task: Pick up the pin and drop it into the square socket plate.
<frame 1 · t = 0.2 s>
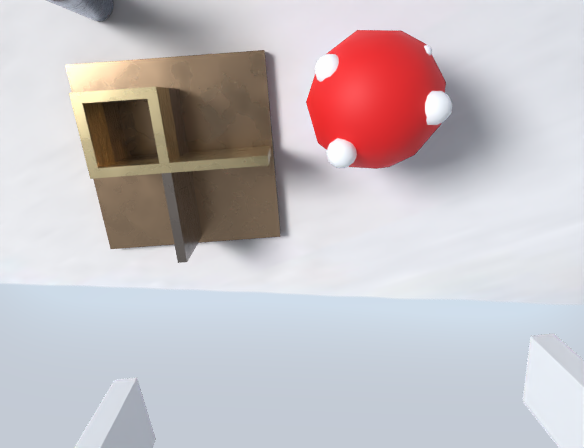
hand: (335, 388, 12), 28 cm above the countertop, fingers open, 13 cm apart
mushroom: (356, 101, 36), on the countertop
square socket plate: (153, 127, 36), on the countertop
pin: (95, 1, 33), on the countertop
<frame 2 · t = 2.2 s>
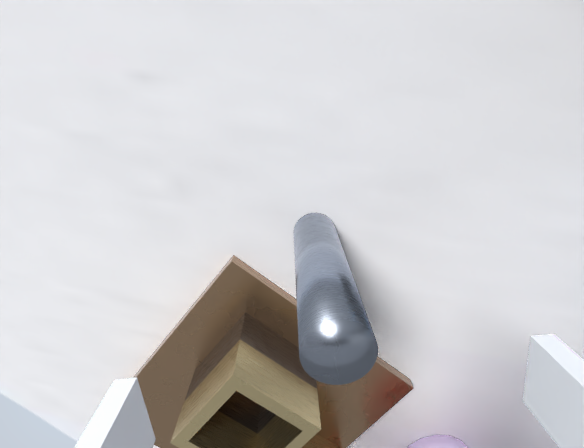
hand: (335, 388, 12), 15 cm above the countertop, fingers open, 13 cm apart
square socket plate: (255, 354, 30), on the countertop
pin: (314, 232, 26), on the countertop
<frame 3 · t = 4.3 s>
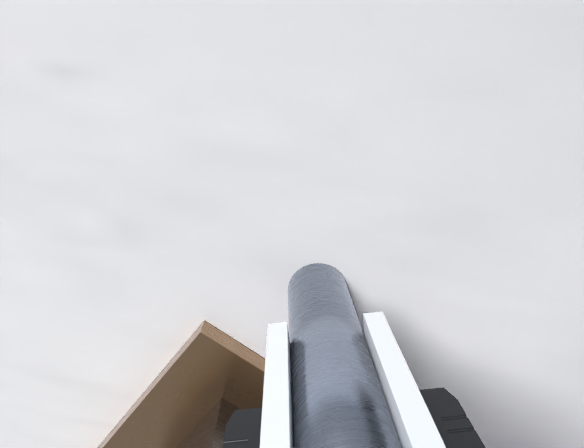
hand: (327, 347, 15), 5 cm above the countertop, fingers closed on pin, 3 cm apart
square socket plate: (237, 445, 22), on the countertop
pin: (317, 290, 19), on the countertop, touching gripper
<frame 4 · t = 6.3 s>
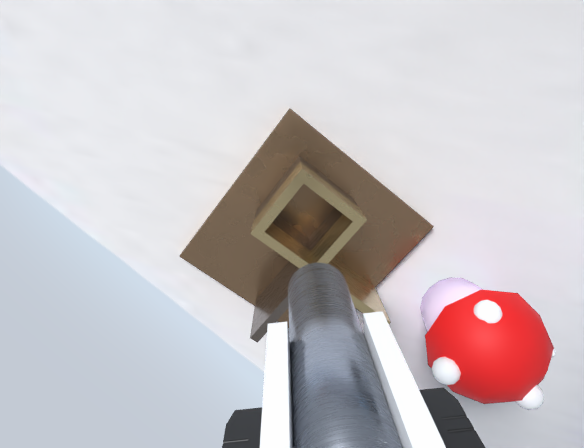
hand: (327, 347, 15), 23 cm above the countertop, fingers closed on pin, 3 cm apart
mushroom: (451, 301, 41), on the countertop
square socket plate: (304, 201, 36), on the countertop
pin: (317, 289, 19), point 18 cm above the countertop, touching gripper
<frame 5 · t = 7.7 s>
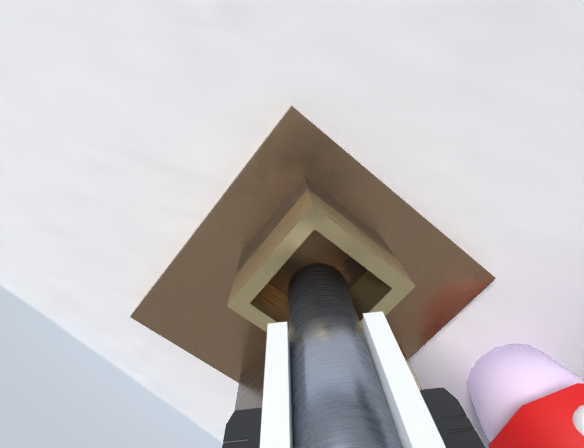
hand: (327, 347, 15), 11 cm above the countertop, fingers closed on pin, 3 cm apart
mushroom: (509, 373, 30), on the countertop
square socket plate: (310, 239, 25), on the countertop
pin: (317, 289, 19), point 7 cm above the countertop, touching gripper
when the fingers open (9 cm above the countertop, at t = 8.7 s): pin drops 3 cm, resting on square socket plate.
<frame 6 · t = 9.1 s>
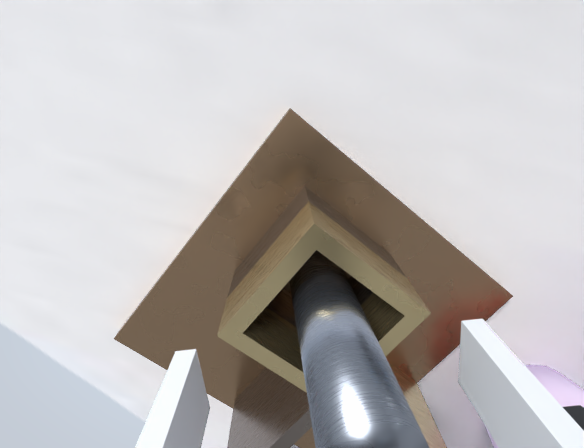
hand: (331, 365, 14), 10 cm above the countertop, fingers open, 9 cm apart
mushroom: (525, 396, 28), on the countertop
square socket plate: (310, 254, 23), on the countertop
pin: (311, 261, 22), point 1 cm above the countertop, touching square socket plate
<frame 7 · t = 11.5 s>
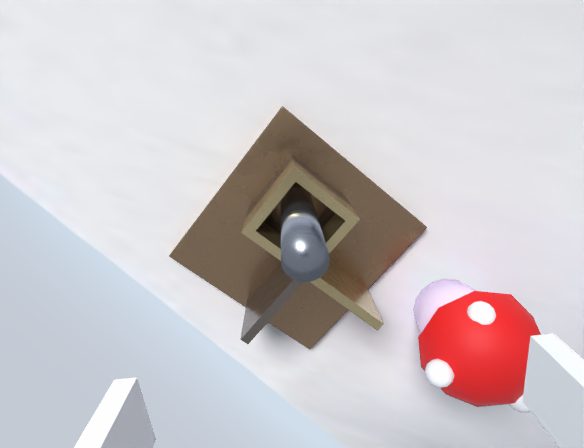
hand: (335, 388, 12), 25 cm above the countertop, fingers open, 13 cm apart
mushroom: (444, 302, 40), on the countertop
square socket plate: (296, 200, 36), on the countertop
pin: (296, 203, 35), point 1 cm above the countertop, touching square socket plate
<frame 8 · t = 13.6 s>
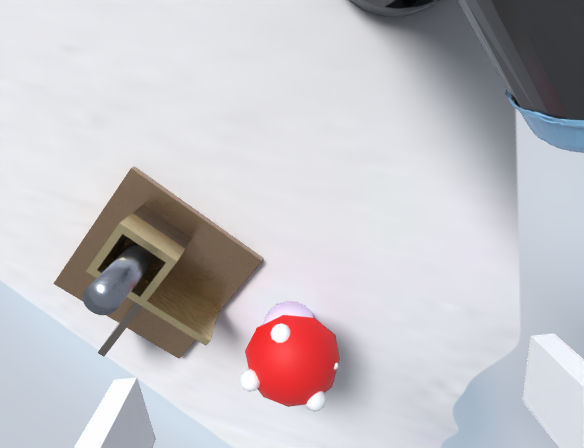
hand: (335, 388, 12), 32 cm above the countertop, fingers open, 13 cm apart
mushroom: (290, 320, 49), on the countertop
square socket plate: (155, 239, 44), on the countertop
pin: (152, 242, 43), point 1 cm above the countertop, touching square socket plate
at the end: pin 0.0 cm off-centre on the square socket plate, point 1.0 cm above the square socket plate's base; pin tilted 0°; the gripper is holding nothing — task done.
